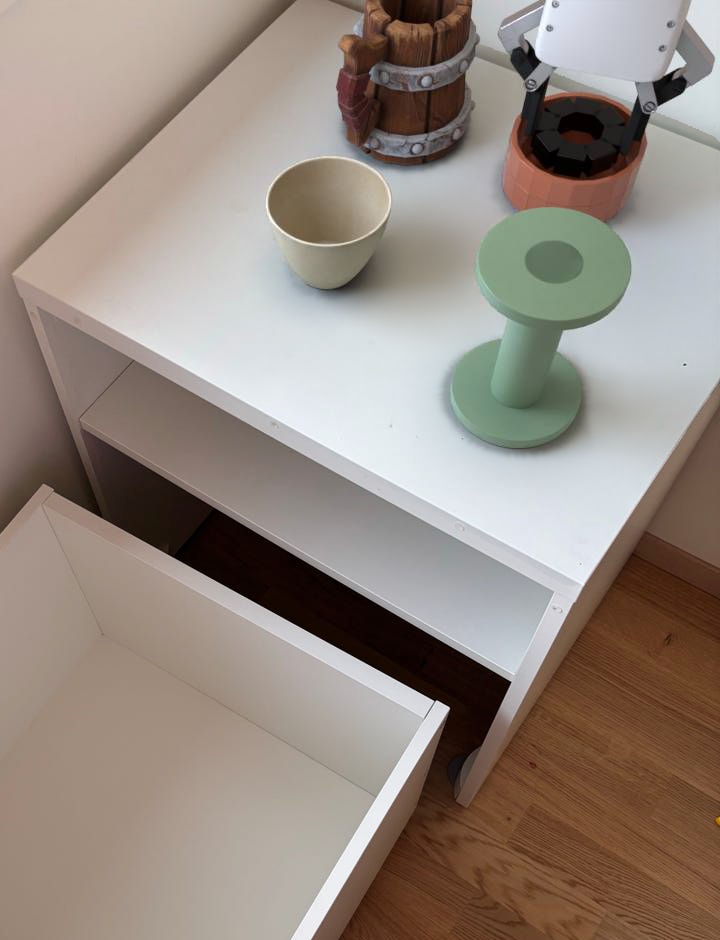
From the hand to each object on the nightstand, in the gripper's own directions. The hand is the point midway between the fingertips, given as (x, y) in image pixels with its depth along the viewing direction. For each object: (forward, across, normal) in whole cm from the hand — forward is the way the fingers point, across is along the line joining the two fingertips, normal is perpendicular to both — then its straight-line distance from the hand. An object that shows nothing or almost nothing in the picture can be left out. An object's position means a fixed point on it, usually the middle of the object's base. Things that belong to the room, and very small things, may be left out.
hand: (579, 133), depth 83 cm
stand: (+5, -1, +24) cm, 24 cm away
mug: (+6, +16, -2) cm, 17 cm away
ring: (+1, 0, 0) cm, 1 cm away
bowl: (+5, 0, 0) cm, 5 cm away
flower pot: (+5, +17, +15) cm, 23 cm away
